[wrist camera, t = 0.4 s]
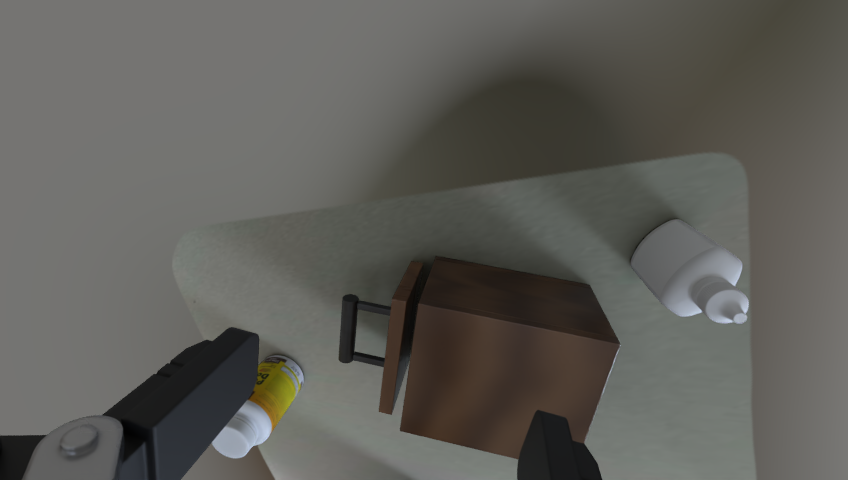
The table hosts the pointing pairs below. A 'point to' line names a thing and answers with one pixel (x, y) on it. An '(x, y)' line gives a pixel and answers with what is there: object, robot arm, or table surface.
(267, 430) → the supplement bottle
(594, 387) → the cabinet
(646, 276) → the eye dropper bottle
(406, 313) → the drawer
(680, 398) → the table surface
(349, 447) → the table surface
